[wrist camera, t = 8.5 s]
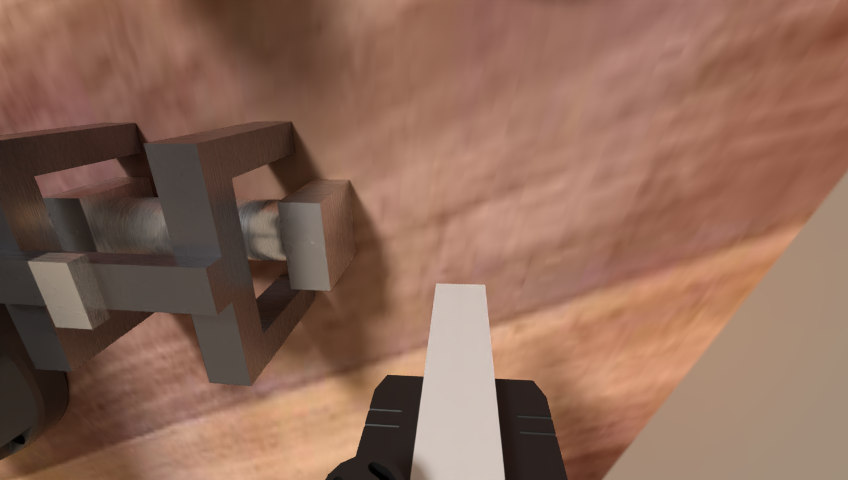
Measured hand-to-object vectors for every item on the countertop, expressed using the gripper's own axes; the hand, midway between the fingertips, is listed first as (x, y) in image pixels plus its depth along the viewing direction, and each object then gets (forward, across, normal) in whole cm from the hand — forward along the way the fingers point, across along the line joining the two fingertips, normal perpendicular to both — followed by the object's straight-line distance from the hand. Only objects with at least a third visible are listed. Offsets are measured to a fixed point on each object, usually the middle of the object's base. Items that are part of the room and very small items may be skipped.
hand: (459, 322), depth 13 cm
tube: (+10, -13, 0) cm, 17 cm away
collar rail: (+10, -14, 0) cm, 18 cm away
